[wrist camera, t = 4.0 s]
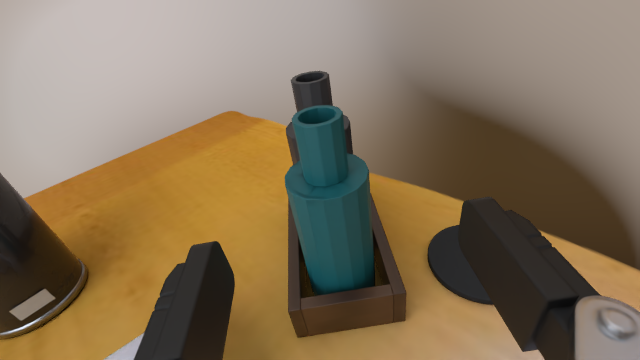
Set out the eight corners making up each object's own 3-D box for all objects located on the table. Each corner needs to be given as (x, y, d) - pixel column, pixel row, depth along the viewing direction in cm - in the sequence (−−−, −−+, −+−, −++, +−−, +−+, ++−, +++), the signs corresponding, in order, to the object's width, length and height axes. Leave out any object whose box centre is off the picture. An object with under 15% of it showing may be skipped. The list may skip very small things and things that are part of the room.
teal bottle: (304, 306, 28) (254, 137, 18) (321, 255, 33) (289, 98, 23) (370, 317, 26) (355, 138, 16) (378, 262, 31) (370, 95, 21)
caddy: (297, 338, 26) (288, 311, 24) (294, 206, 40) (288, 181, 38) (405, 320, 26) (406, 292, 23) (363, 194, 40) (362, 169, 38)
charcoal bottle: (301, 241, 35) (264, 91, 25) (316, 206, 39) (289, 68, 29) (353, 246, 33) (336, 88, 23) (362, 209, 38) (350, 64, 28)
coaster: (428, 295, 27) (428, 291, 27) (427, 224, 34) (427, 220, 34) (546, 313, 25) (548, 308, 24) (519, 232, 32) (521, 228, 31)
